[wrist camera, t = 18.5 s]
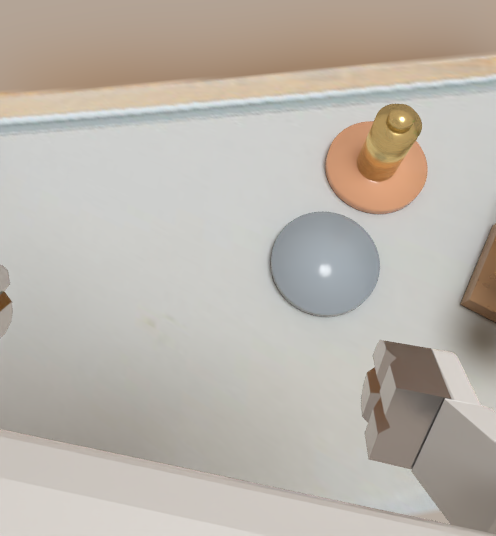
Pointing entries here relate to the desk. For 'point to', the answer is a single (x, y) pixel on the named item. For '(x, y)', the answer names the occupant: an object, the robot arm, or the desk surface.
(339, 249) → the grey glossy dome
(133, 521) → the robot arm
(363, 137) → the terracotta dish
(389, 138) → the brass weight
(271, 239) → the desk surface
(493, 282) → the balance
